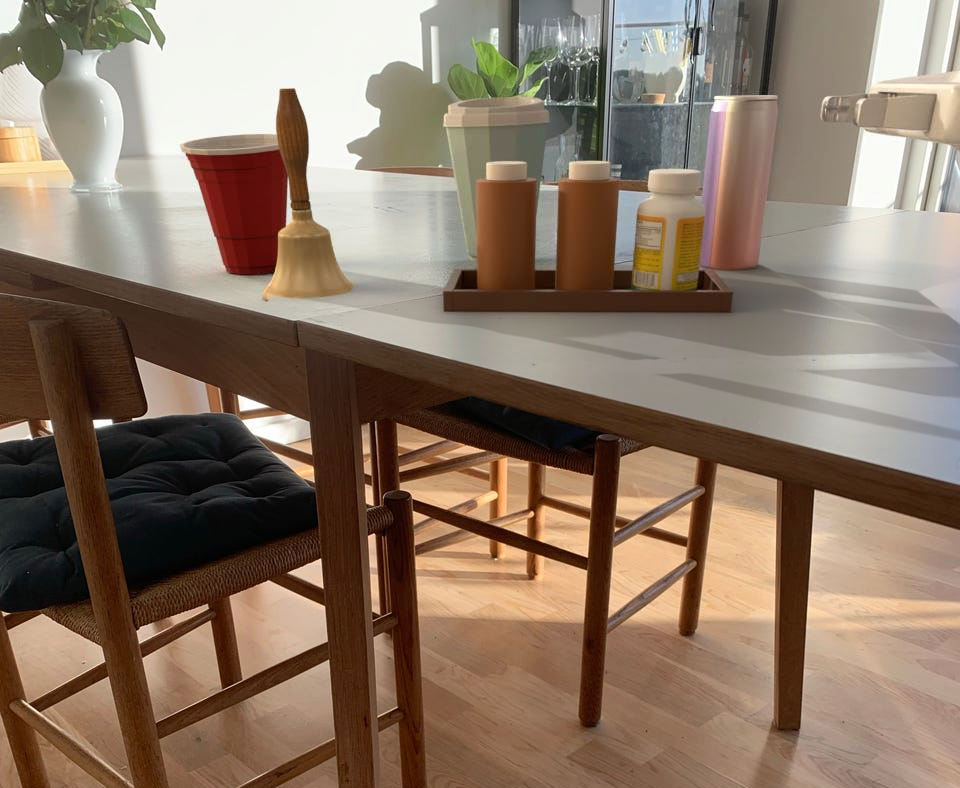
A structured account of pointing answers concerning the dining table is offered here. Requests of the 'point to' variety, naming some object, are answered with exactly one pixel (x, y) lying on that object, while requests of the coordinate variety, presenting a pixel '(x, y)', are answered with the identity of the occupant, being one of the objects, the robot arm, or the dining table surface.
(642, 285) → the supplement bottle
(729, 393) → the dining table surface
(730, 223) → the beverage can
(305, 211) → the hand bell
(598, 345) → the dining table surface
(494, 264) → the far amber bottle
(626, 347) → the dining table surface
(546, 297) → the tray
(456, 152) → the disposable coffee cup
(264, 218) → the plastic cup
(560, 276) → the amber bottle
